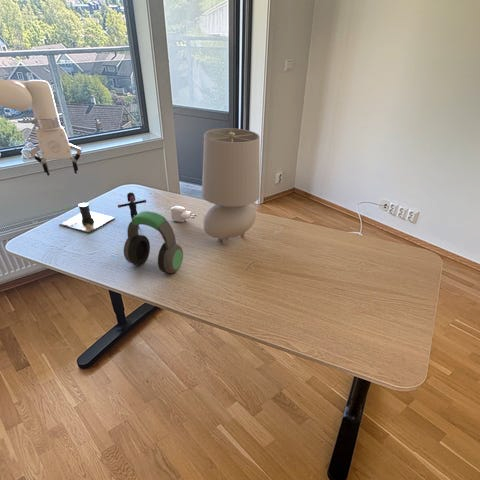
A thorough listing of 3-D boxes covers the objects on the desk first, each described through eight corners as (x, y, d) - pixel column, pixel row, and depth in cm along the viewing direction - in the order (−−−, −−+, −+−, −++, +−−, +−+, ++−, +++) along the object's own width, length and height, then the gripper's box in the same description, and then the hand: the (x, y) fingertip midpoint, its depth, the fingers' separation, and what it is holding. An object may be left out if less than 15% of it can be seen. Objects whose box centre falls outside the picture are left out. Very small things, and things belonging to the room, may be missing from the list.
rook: (81, 223, 147) (77, 207, 142) (81, 218, 150) (77, 203, 145) (93, 222, 148) (89, 206, 144) (93, 217, 152) (89, 201, 147)
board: (89, 233, 142) (88, 232, 141) (59, 225, 146) (59, 223, 146) (114, 218, 153) (114, 217, 152) (86, 211, 157) (86, 209, 157)
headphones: (185, 265, 127) (182, 213, 114) (171, 280, 119) (165, 227, 106) (141, 254, 131) (132, 203, 118) (124, 268, 124) (113, 215, 110)
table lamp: (239, 223, 154) (244, 123, 128) (268, 244, 141) (279, 137, 114) (193, 235, 144) (188, 128, 118) (219, 259, 131) (219, 145, 105)
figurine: (124, 232, 144) (117, 197, 134) (121, 228, 146) (113, 193, 136) (151, 226, 149) (146, 191, 139) (148, 222, 151) (143, 188, 141)
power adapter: (198, 221, 154) (197, 209, 150) (193, 226, 151) (192, 213, 147) (175, 217, 157) (174, 204, 153) (170, 221, 153) (169, 208, 149)
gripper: (19, 126, 116) (36, 178, 127) (75, 124, 121) (87, 175, 132) (21, 121, 121) (37, 171, 132) (74, 120, 126) (86, 168, 137)
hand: (62, 173), depth 132 cm, fingers open, 9 cm apart
